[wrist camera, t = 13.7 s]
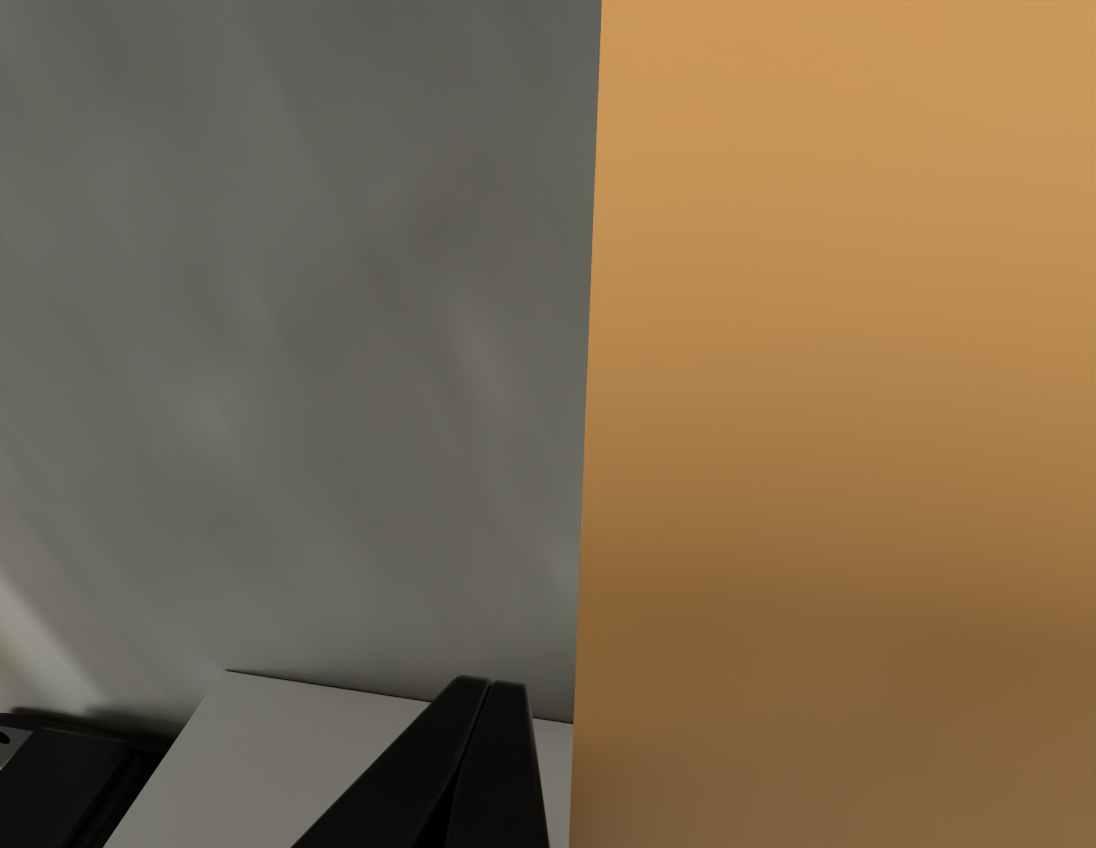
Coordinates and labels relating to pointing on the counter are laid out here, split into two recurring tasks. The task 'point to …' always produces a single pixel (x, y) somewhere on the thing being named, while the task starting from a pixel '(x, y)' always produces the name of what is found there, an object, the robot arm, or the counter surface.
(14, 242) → the counter surface
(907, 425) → the orange cover
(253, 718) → the housing
